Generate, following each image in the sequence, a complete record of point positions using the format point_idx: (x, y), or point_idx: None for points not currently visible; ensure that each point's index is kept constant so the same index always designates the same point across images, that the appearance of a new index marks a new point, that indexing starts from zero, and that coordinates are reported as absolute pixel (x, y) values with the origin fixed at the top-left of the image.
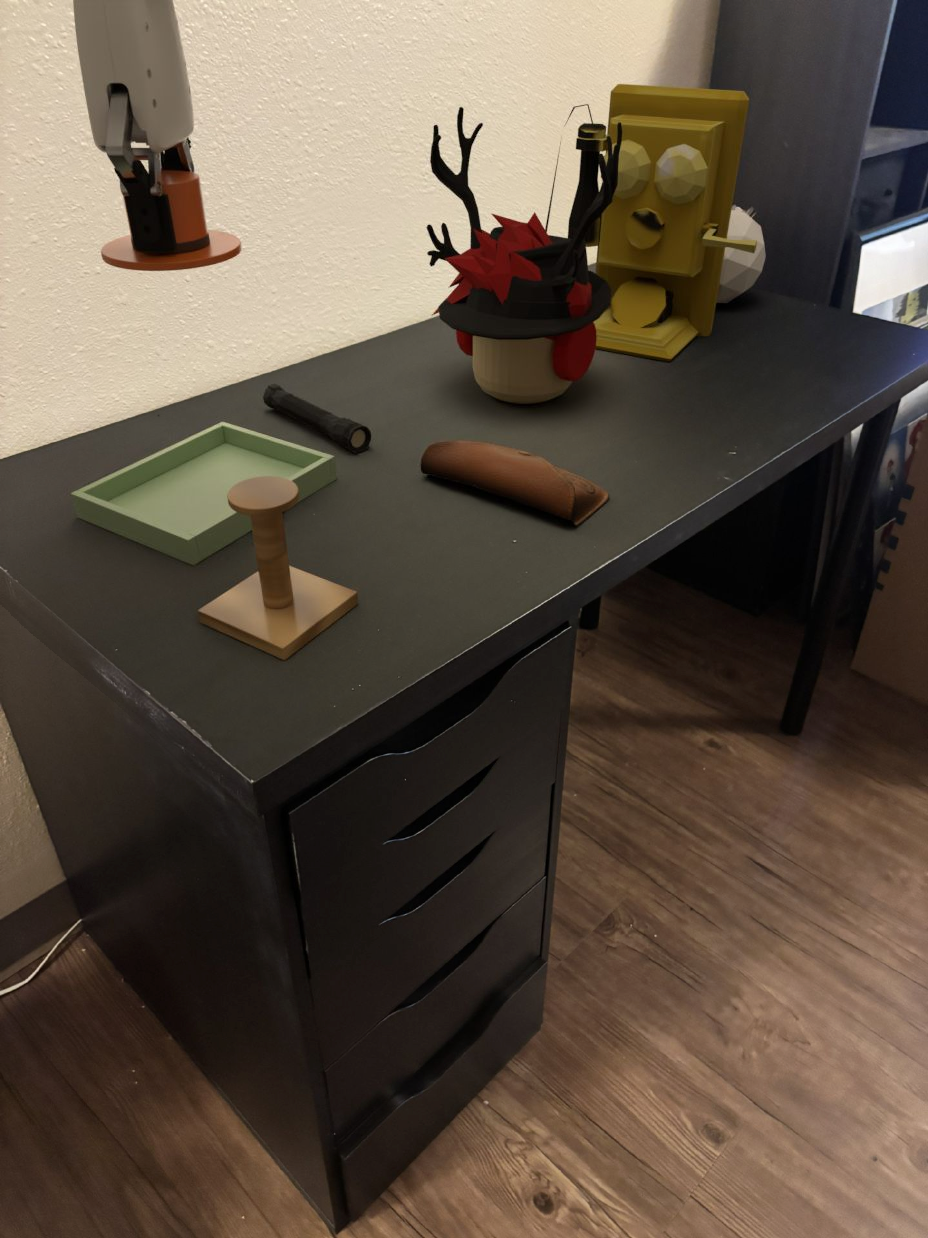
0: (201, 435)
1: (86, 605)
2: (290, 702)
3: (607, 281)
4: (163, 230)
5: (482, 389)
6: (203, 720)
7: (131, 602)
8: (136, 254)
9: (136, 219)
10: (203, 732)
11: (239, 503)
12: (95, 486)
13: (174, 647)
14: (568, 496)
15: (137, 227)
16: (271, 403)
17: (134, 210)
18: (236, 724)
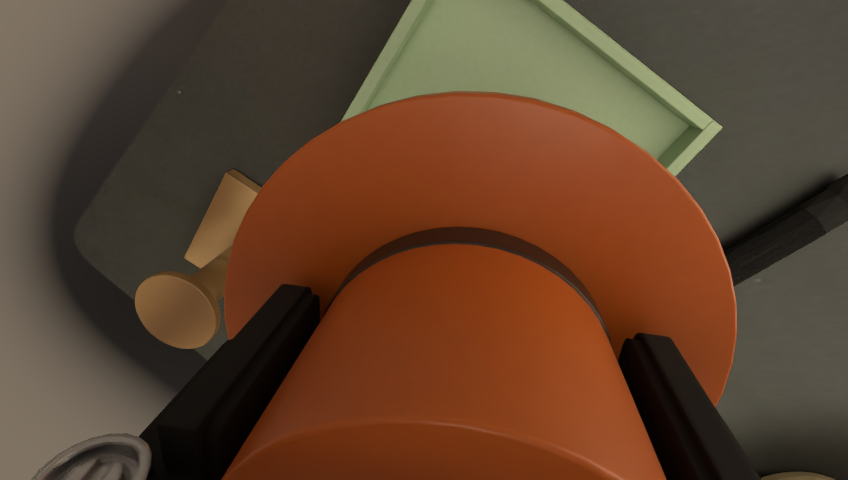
0: (665, 100)
1: (247, 29)
2: (145, 260)
3: None
4: None
5: (783, 473)
6: (109, 196)
7: (259, 84)
8: (323, 262)
9: (187, 386)
10: (96, 198)
11: (142, 291)
12: None
13: (193, 151)
14: None
15: (205, 363)
16: (829, 189)
17: (160, 414)
18: (111, 222)
